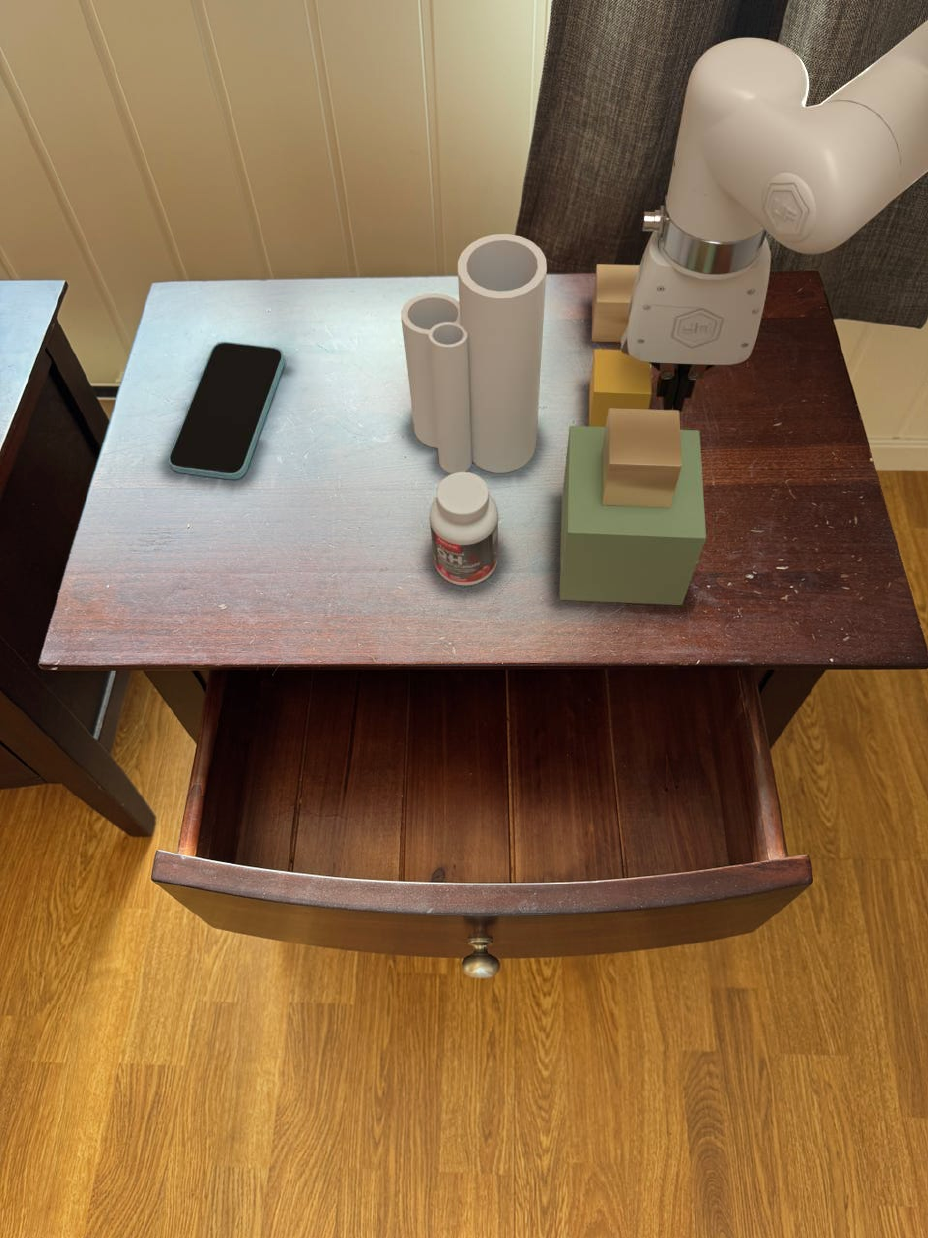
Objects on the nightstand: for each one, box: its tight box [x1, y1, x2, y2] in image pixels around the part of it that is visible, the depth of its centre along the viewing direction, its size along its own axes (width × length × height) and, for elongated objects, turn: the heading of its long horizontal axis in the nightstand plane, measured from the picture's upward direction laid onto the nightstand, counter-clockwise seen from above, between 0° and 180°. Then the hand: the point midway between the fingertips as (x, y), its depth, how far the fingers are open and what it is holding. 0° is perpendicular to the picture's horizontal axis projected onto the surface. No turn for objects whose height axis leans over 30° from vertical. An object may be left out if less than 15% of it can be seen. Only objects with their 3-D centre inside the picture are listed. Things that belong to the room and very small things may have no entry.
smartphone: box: [168, 341, 286, 480], centre depth 87 cm, size 7×1×15 cm
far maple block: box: [591, 263, 640, 343], centre depth 89 cm, size 5×5×5 cm
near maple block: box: [602, 408, 682, 508], centre depth 68 cm, size 5×5×5 cm
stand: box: [558, 425, 707, 606], centre depth 75 cm, size 10×10×10 cm
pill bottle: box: [429, 471, 499, 586], centre depth 75 cm, size 5×5×10 cm
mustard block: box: [588, 349, 653, 427], centre depth 84 cm, size 5×5×5 cm
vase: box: [400, 233, 548, 474], centre depth 76 cm, size 11×7×20 cm, turn 83°
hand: (671, 399), depth 85 cm, fingers closed
